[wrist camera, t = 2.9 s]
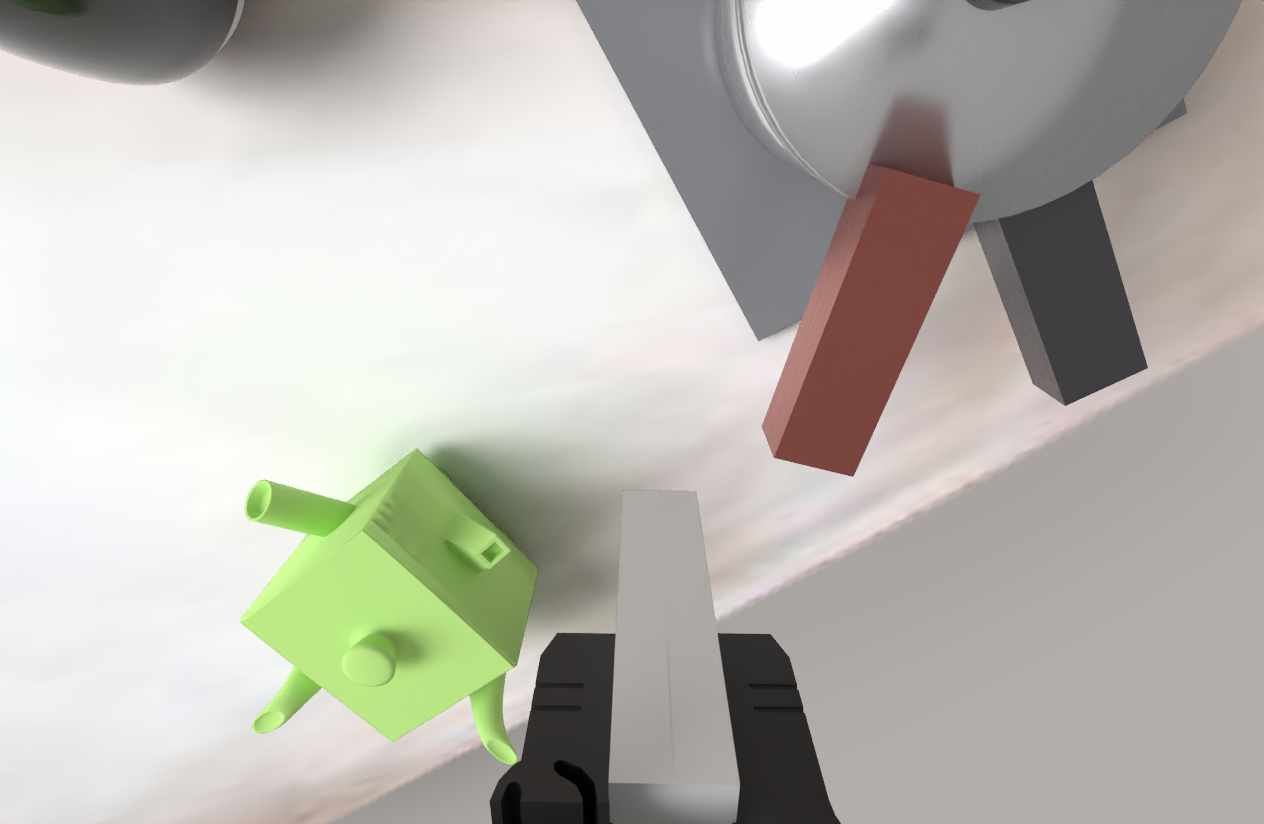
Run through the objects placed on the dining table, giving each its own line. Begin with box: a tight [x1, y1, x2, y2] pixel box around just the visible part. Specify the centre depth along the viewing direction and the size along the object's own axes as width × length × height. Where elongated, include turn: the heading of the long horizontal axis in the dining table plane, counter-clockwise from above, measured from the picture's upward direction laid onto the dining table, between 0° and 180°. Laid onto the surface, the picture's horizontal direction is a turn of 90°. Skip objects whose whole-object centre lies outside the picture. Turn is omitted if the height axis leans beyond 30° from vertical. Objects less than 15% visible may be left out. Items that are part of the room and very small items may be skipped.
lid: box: [739, 0, 1242, 477], centre depth 20 cm, size 23×15×3 cm, turn 165°
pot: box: [715, 0, 1148, 406], centre depth 26 cm, size 23×15×10 cm, turn 30°
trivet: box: [576, 0, 1187, 341], centre depth 30 cm, size 22×22×1 cm
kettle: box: [240, 448, 539, 765], centre depth 37 cm, size 15×14×11 cm
